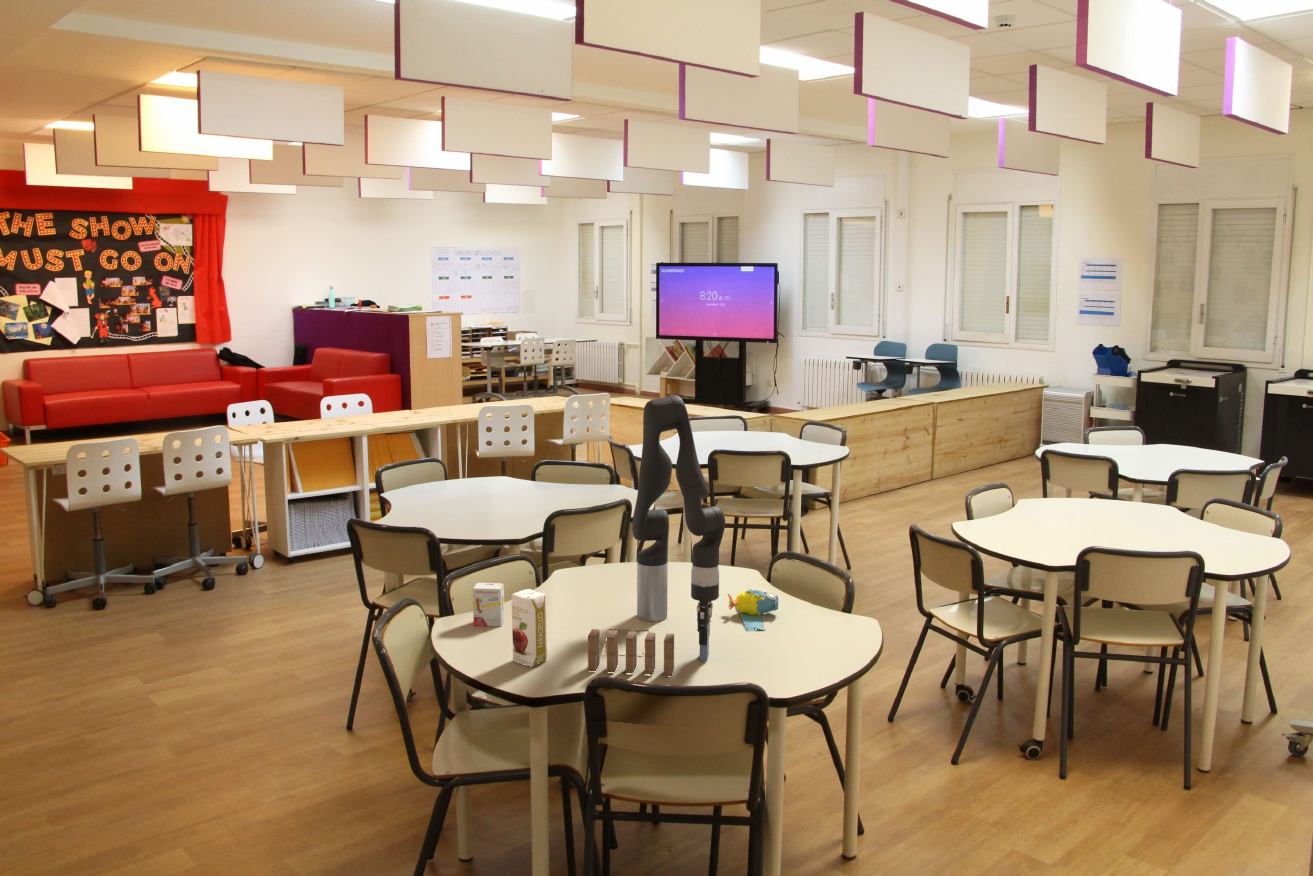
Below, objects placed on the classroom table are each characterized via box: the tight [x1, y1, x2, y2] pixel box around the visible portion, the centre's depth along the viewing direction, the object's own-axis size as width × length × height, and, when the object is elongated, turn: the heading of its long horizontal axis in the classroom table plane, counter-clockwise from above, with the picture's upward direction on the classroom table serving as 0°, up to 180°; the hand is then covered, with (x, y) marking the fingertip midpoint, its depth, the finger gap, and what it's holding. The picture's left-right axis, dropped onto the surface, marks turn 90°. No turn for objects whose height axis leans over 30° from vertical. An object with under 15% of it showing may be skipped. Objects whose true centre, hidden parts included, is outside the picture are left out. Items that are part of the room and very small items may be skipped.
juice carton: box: [511, 588, 548, 667], centre depth 263 cm, size 8×9×19 cm
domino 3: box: [625, 630, 638, 674], centre depth 258 cm, size 5×2×10 cm, turn 171°
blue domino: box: [699, 624, 710, 662], centre depth 267 cm, size 5×2×10 cm, turn 171°
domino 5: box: [663, 633, 675, 677], centre depth 256 cm, size 5×2×10 cm, turn 171°
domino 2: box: [606, 630, 619, 673], centre depth 259 cm, size 5×2×10 cm, turn 171°
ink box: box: [472, 582, 505, 627], centre depth 292 cm, size 9×5×12 cm, turn 87°
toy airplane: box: [727, 588, 779, 632], centre depth 301 cm, size 28×9×15 cm
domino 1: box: [587, 628, 601, 672], centre depth 259 cm, size 5×2×10 cm, turn 171°
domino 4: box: [644, 631, 656, 675], centre depth 257 cm, size 5×2×10 cm, turn 171°
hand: (704, 640), depth 267 cm, fingers open, 5 cm apart
